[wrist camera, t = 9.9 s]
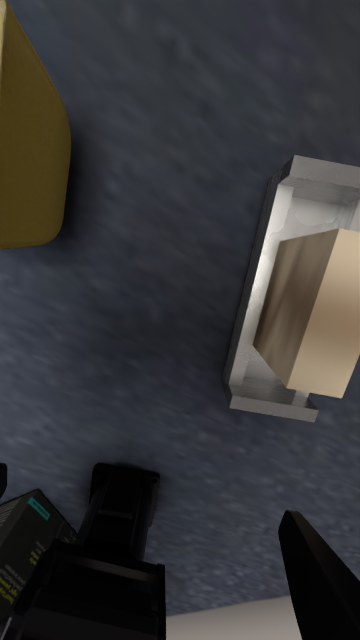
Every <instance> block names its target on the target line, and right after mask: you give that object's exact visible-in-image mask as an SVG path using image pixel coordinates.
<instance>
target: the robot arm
mask: <svg viewBox="0 0 360 640" xmlns="http://www.w3.org/2000/svg"><path fill="white" fill-rule="evenodd" d="M159 483H160V476H159V474H157V473H151V472H145V471H139V470H133V469H127V468H121V467H114V466H108V465H102V464H97V465H95V466H94V469H93V472H92V481H91V491H90V500H89V507H88V510H87V512H86V515H85V517H84V520H83V522H82V525H81V527H80V530H79V532H78V535H77V537H76V540H75V542H74V544H73V543H69V542H65V541H62V539H60V538H56V537H55V538H54V540H53V542H52V543H51V545H50V547H49V549H46V550H45V551H44V552H42V553H41V555H40V557H39V559H38V561H37V563H36V565H35V567H34V569H33V571H32V573H31V575H30V577H29V578H28V580H27V582H26V584H25V585H24V587H23V588H22V590H21V591H20V593H19V594H18V596H17V597H16V599H15V600H14V602H13V603H12V605H11V606H10V608H9V609H8V611H7V612H6V614H5V615H4V617H3V619H2V620H1V622H0V640H166V602H165V565H163V564H159V563H158V564H157V565H156V564H152V563H148V562H144V561H143V560H144V553H145V546H146V539H147V532H148V527H150V526H151V525H152V519H153V514H154V509H155V504H156V499H157V493H158V488H159ZM6 487H7V465H6V464H5V463H0V499H1V497H2V495H3V494H4V492H5V490H6ZM278 535H279V541H280V546H281V551H282V556H283V561H284V566H285V571H286V576H287V581H288V585H289V590H290V595H291V600H292V603H293V608H294V612H295V615H296V619H297V623H298V626H299V630H300V633H301V637H302V640H360V581H359V580H358V579H357V577H356V576H355V575H354V574H353V573H352V572H351V570H350V569H349V568H348V567H347V566H346V565H345V564H344V562H343V561H342V560H341V559H340V558H339V557H338V556H337V554H336V553H335V552H334V551H333V550H332V549H331V548H330V546H329V545H328V544H327V543H326V542H325V541H324V539H323V538H322V537H321V536H320V535H319V534H318V533H317V531H316V530H315V529H314V528H313V527H312V526H311V525H310V523H309V522H308V521H307V520H306V519H305V518H304V517H303V515H302V514H301V513H299V512H297V511H292V510H286V511H285V513H284V515H283V518H282V521H281V523H280V526H279V530H278Z"/></svg>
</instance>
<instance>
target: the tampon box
mask: <svg viewBox="0 0 360 640" xmlns="http://www.w3.org/2000/svg"><path fill="white" fill-rule="evenodd" d="M55 537H56V538H60V539H62V541H65V542H69V543H73V544H74V542H75V540H76V537H77V534H76V533H75V532H74V531H73V530H72V528H71V527H70V526H69V525H68V524H67V523H66V522H65V520H64V519H63V518H62V517H61V516H60V515H59V513H58V512H57V511H56V510H55V509H54V508H53V507H52V505H51V504H50V503H49V502H48V501H47V499H46V498H45V497H44V496H43V495H42V494H41V492H40V491H39V490H35V491H33V492H31V493H29V494H26V495H24V496H22V497H19V498H17V499H15V500H12V501H10V502H8V503H5V504H3V505H1V506H0V622H1V620H2V619H3V617H4V615H5V614H6V612H7V611H8V609H9V608H10V606H11V605H12V603H13V602H14V600H15V599H16V597H17V596H18V594H19V593H20V591H21V590H22V588H23V587H24V585H25V584H26V582H27V580H28V578H29V577H30V575H31V573H32V571H33V569H34V567H35V565H36V563H37V561H38V559H39V557H40V555H41V553H42V552H44V551H45V550H46V549H49V547H50V545H51V543H52V542H53V540H54V538H55Z"/></svg>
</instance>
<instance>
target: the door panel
mask: <svg viewBox="0 0 360 640" xmlns="http://www.w3.org/2000/svg"><path fill="white" fill-rule="evenodd" d="M252 345H253V347H254V348H255V349H256V350H257V352H258V353H259V354H260V355H261V357H262V358H263V359H264V360H265V362H266V363H267V364H268V366H269V367H270V368H271V369H272V371H273V372H274V373H275V374H276V376H277V377H278V378H279V379H280V381H281V382H282V383H283V384H284V386H285V387H286V388H288V389H294V390H299V391H305V392H310V393H316V394H321V395H326V396H332V397H337V398H342V397H343V394H344V392H345V389H346V387H347V384H348V382H349V379H350V377H351V374H352V372H353V369H354V367H355V364H356V362H357V359H358V357H359V354H360V232H355V231H350V230H346V229H341V228H339V229H334V230H330V231H325V232H320V233H315V234H311V235H306V236H301V237H297V238H292V239H287V240H283V241H280V242H279V246H278V250H277V254H276V257H275V261H274V265H273V269H272V273H271V276H270V280H269V284H268V288H267V291H266V295H265V299H264V303H263V307H262V310H261V314H260V318H259V322H258V325H257V329H256V333H255V337H254V341H253V344H252Z"/></svg>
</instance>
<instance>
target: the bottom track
mask: <svg viewBox="0 0 360 640" xmlns="http://www.w3.org/2000/svg"><path fill="white" fill-rule="evenodd" d="M339 228H341V229H346V230H350V231H355V232H360V167H355V166H350V165H344V164H339V163H334V162H329V161H324V160H318V159H313V158H308V157H303V156H297V155H294V156H293V157H292V158H291V159H290V160H289V161H288V162H287V163H286V164H285V165H284V166H283V167H282V168H281V169H280V170H279V171H278V172H277V173H276V174H275V175H273V176H272V177H271V178H270V179H269V183H268V188H267V192H266V196H265V200H264V204H263V208H262V213H261V217H260V221H259V225H258V229H257V233H256V238H255V242H254V246H253V250H252V254H251V258H250V263H249V267H248V271H247V275H246V279H245V283H244V288H243V292H242V296H241V300H240V304H239V308H238V313H237V317H236V321H235V325H234V329H233V333H232V338H231V342H230V346H229V350H228V354H227V358H226V363H225V367H224V371H223V375H222V379H221V381H222V385H223V388H224V391H225V395H226V398H227V401H228V405H229V408H232V409H238V410H244V411H250V412H256V413H262V414H268V415H274V416H280V417H286V418H292V419H298V420H304V421H309V422H315V419H316V417H317V414H318V411H319V410H318V409H317V408H316V407H315V405H314V404H313V403H312V402H311V401H310V400H309V399H308V395H309V392H305V391H299V390H294V389H288V388H286V387H285V386H284V384H283V383H282V382H281V381H280V379H279V378H278V377H277V376H276V374H275V373H274V372H273V371H272V369H271V368H270V367H269V366H268V364H267V363H266V362H265V360H264V359H263V358H262V357H261V355H260V354H259V353H258V352H257V350H256V349H255V348H254V347H253V345H252V344H253V341H254V337H255V333H256V329H257V325H258V322H259V318H260V314H261V310H262V307H263V303H264V299H265V295H266V291H267V288H268V284H269V280H270V276H271V273H272V269H273V265H274V261H275V257H276V254H277V250H278V246H279V242H280V241H283V240H287V239H292V238H297V237H301V236H306V235H311V234H315V233H320V232H325V231H330V230H334V229H339Z"/></svg>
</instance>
